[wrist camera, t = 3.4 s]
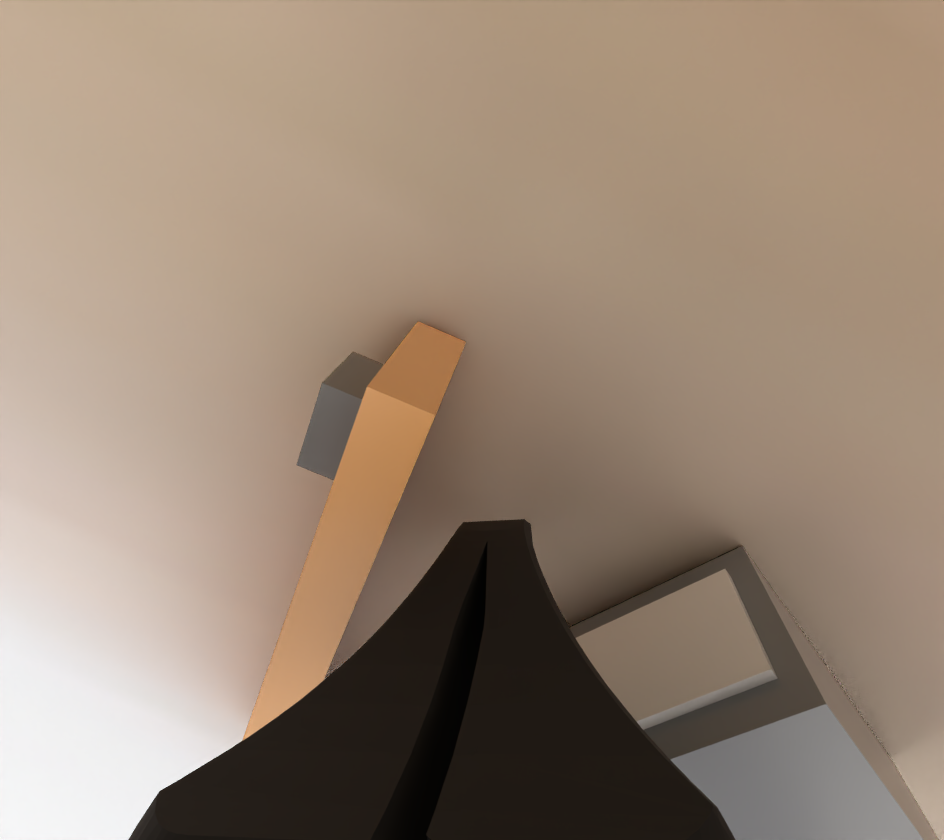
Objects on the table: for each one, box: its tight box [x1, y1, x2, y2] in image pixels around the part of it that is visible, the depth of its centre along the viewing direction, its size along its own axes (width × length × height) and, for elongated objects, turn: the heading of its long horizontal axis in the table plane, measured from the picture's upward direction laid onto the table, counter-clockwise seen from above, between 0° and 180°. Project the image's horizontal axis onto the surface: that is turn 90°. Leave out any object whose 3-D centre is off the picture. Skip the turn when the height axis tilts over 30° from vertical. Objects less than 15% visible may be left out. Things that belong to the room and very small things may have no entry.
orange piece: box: [242, 321, 466, 741], centre depth 12 cm, size 2×14×4 cm, turn 158°
